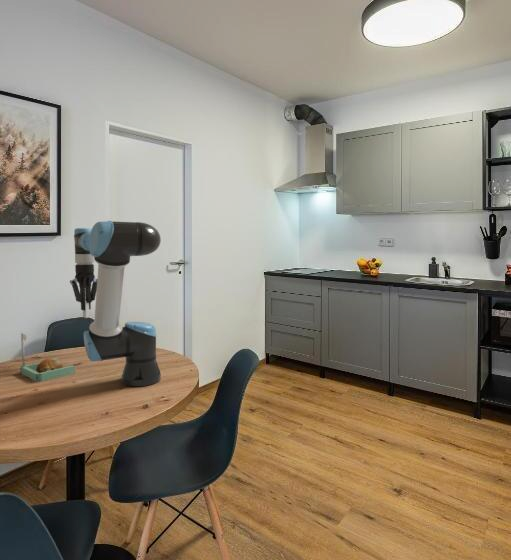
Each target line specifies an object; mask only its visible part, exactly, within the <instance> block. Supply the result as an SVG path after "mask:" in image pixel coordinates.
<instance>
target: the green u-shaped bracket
mask: <svg viewBox="0 0 511 560" xmlns="http://www.w3.org/2000/svg"><path fill="white" fill-rule="evenodd" d="M20 337H21V341H20V342H21V359H22V363H21V364H22V365H20V367H19V369H20V371H19V372H20V375H23V376H24V375H25V376H24V377H26V376H27V377H26V378H28V377H29V379H30V380H31V381H35V382H36V383H41V382H44V381H45V382H46V381H48V380H52V379H56V378H60V377H65V376H69V375H73V374H75V373H76V369H75V367H76V366H75V365H68V366H63V368H59V369H55V370H51V371H46V372H42V373H38V372H36V368H37V366H38V364H40V363H41V362H42V361H39V362H35V363H30V364H25V344H24V343H25V342H27V341H28V335H27V334H25V333H24V332H21V333H20ZM56 359H57V360H59V358H56Z"/></svg>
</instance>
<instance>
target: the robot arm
mask: <svg viewBox="0 0 511 560" xmlns="http://www.w3.org/2000/svg"><path fill="white" fill-rule="evenodd" d="M73 233H74V234H73V238H74V262H75V263H74V264H75V265H74V267H75V276H74V278H73V279H72V280H69V283H70V284H71V286H72V291H73V294H74V297H75V301H76V302H78V303H80V310H81V311H82V317H83V318H85V319H87V318H90V310H91V309H92V306H91V303H92V302H93V301H95V306H94V307H95V310H94V321H92V322H91V323H90V324H89V326H88V327H89V330H85V331H84V332H83V343H84V347H85V352H86V355H87V358H88V360H89V361H90V362H103V361H108V360H115V359H121V358H122V359H123V358H125V364H124V366H123V370H122V374H121V377H120V378H121V384H122V385H124V386H129V387H147V386H152V385H155V384H157V383H159V382H160V381H161V380H162V379H161V377H162V376H161V375H162V374H161V371H160V367H159V365H158V362H157V331H156V329H157V328H156V326H155V325H154V324H153V323H150V322H144V321H125V323H124V326H123V325H122V323H120V316H121V315H120V314H121V306H122V305H121V304H122V295H123V287H124V286H123V285H124V276H125V267H127V266H128V265H129V264H130V261H131V257H143V256H147V255H151V254H152V253H154V252H156V251H157V250H158V249H159V247H160V245H161V240H162V239H161V235H160V233H159V231H158V229H156V228H155V227H154V226H153V225H151V224H149V223H147V222H146V223H145V222H141V221H139V222H138V221H137V222H135V221H112V220H106V221H97V222H95V223H94V225H93V226H92V228H89V227H88V228H87V227H86V228H85V227H83V228H82V227H81V228H79V227H77V228H75V229H74V231H73ZM94 261H95V262H96V263H97V264H98V267H97V277H95V273H94V272H95V265H94V263H95V262H94Z"/></svg>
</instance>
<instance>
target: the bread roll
mask: <svg viewBox="0 0 511 560" xmlns="http://www.w3.org/2000/svg"><path fill="white" fill-rule="evenodd" d="M57 359H58V358H53V357H52V358H51V357H50V358H45V359H43V360H41V361H40V362H41V363H40V364H38V366H37V368H36V372H38V373H42V372H46V371H51V370H55V369H59V368H63V367H64V365H63V363H62V362H61V361H60V360H59V359H58V360H57Z"/></svg>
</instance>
